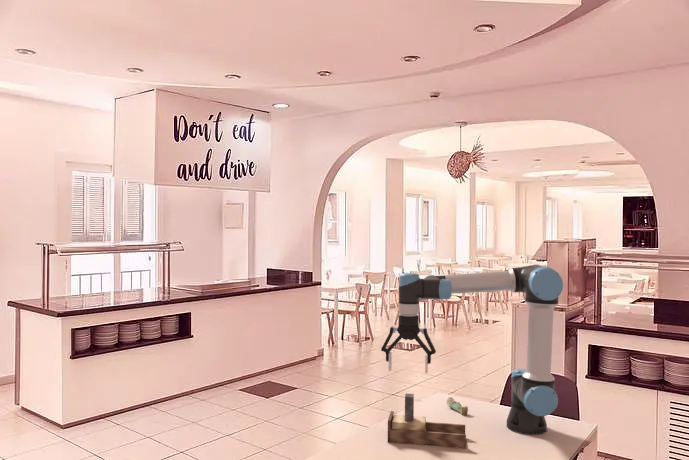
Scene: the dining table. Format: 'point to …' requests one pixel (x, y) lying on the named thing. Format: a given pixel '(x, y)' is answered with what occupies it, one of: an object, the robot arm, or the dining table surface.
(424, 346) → the robot arm
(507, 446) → the dining table surface
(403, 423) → the block with handle
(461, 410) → the figurine
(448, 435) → the bay
